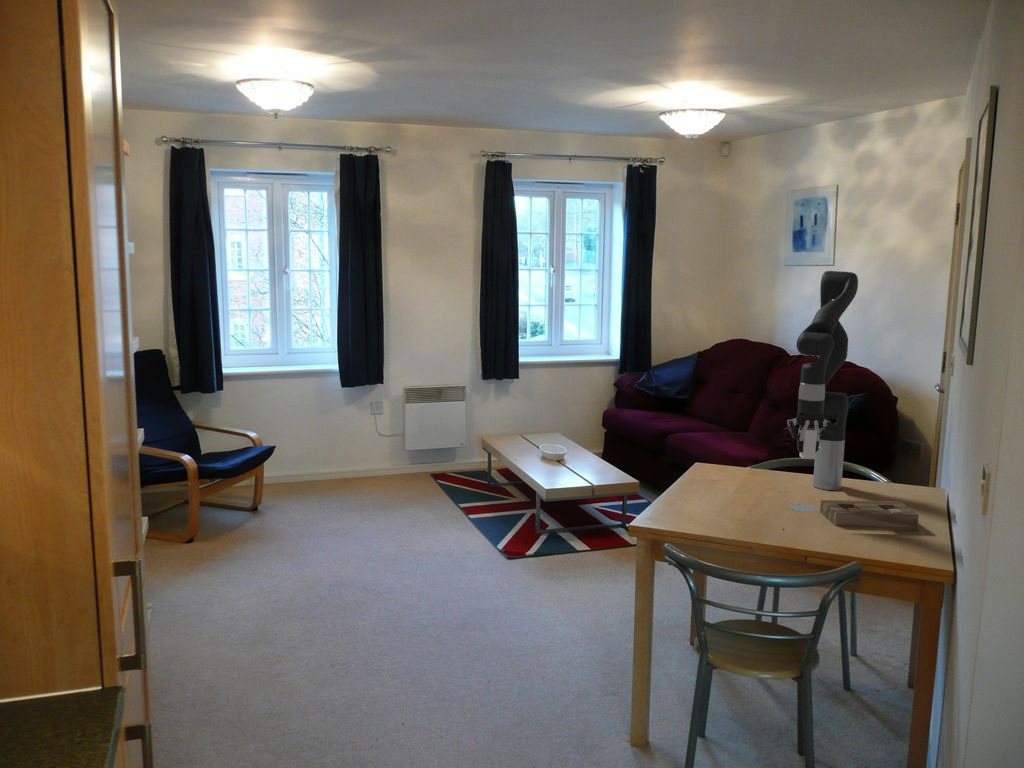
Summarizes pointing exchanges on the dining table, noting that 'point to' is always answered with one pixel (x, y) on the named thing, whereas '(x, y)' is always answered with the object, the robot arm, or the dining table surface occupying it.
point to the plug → (809, 444)
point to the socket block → (870, 514)
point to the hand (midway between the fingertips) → (807, 452)
